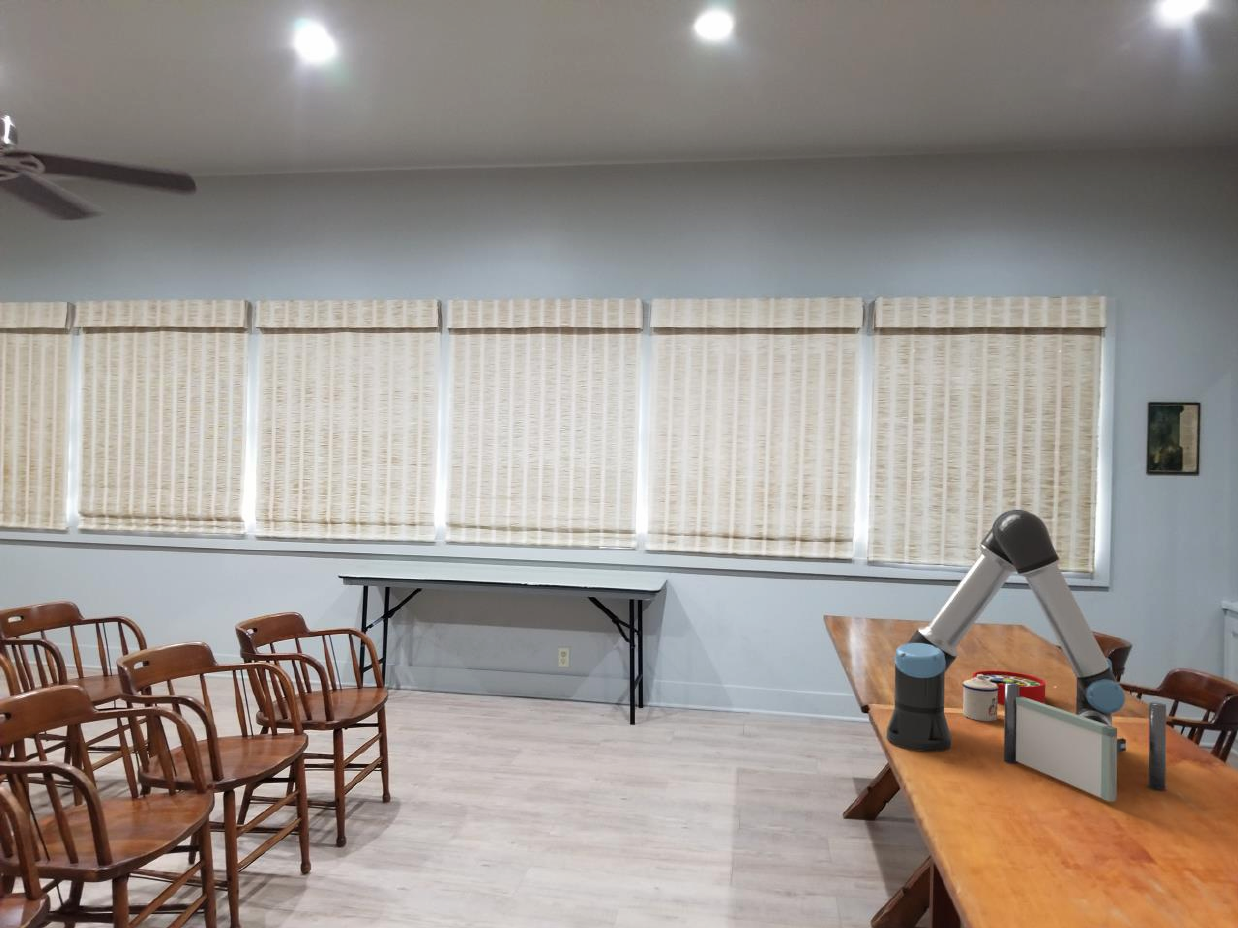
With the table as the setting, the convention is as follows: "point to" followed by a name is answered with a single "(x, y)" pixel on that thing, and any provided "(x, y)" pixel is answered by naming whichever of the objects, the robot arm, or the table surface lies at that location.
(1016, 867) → the table surface
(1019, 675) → the toy clock
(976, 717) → the teacup with lid
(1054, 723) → the grey rectangular panel
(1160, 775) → the posts
